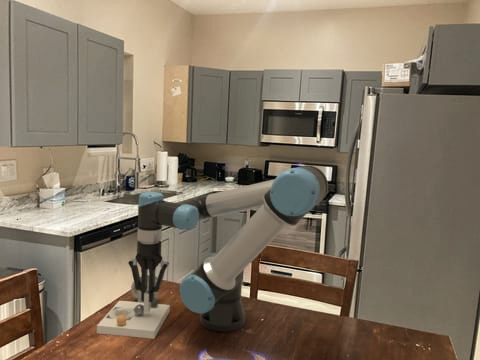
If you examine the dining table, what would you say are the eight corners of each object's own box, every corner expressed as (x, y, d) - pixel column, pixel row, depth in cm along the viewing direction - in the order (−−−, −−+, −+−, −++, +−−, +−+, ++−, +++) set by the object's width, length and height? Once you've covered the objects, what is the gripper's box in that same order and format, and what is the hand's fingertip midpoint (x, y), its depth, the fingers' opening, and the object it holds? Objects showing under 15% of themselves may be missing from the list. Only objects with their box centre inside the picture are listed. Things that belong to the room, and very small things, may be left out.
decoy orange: (128, 322, 127) (128, 313, 126) (124, 327, 124) (124, 318, 123) (118, 321, 127) (118, 312, 126) (114, 326, 124) (115, 317, 124)
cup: (153, 307, 143) (154, 283, 142) (126, 304, 145) (127, 280, 143) (160, 299, 150) (161, 276, 149) (135, 296, 152) (135, 273, 150)
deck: (169, 311, 141) (169, 305, 140) (154, 338, 123) (154, 330, 122) (119, 307, 142) (119, 300, 142) (96, 333, 124) (96, 325, 124)
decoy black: (159, 304, 140) (159, 296, 140) (156, 308, 137) (157, 300, 137) (150, 304, 140) (151, 295, 140) (148, 307, 137) (148, 299, 137)
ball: (146, 312, 134) (146, 302, 133) (143, 317, 130) (142, 307, 130) (136, 312, 134) (135, 302, 133) (132, 317, 130) (132, 307, 130)
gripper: (172, 239, 132) (169, 307, 135) (133, 235, 133) (131, 303, 136) (166, 246, 124) (163, 318, 127) (125, 242, 125) (123, 313, 129)
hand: (147, 310), depth 132 cm, fingers closed
